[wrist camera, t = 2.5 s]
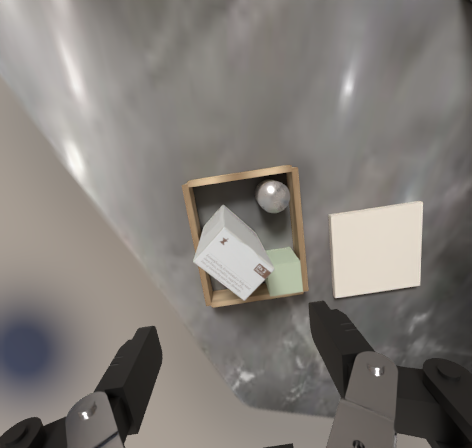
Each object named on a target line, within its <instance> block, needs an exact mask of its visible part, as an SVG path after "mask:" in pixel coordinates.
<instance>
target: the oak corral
mask: <svg viewBox="0 0 472 448" xmlns="http://www.w3.org/2000/svg"><path fill="white" fill-rule="evenodd" d="M279 173H286V176H287V186H288V190H289V192H290V201H289V207H290V217H291V227H292V237H293V247H294V253H295V255H296V256H297V257H298V259H299V260H300V264H301V275H302V285H303V292H304V291H309V290H308V279H307V267H306V256H305V244H304V233H303V221H302V210H301V198H300V186H299V175H298V167H292V166H291V165H285V166H278V167H272V168H265V169H259V170H252V171H246V172H240V173H233V174H227V175H220V176H214V177H207V178H201V179H194V180H190V181H187V184H184V185H182V189H183V194H184V199H185V204H186V209H187V214H188V219H189V224H190V228H191V233H192V238H193V243H194V248H195V253H196V250H197V247H198V244H199V241H200V237H201V234H202V233H201V228H200V223H199V218H198V212H197V207H196V202H195V197H194V192H193V187H195V186H202V185H208V184H215V183H221V182H228V181H234V180H241V179H247V178H253V177H260V176H266V175H273V174H279ZM198 268H199V273H200V278H201V283H202V287H203V292H204V297H205V302H206V306H211V305H212V308H213V307H220V306H227V305H233V304H240V303H247V302H253V301H260V300H267V299H273V298H280V297H287V296H293V295H300V294H303V292H298V293H291V294H285V295H278V296H271V297H270V294H269V291H268V288H267V285H266V283H264V284H260V285H259V286H258V287H257V289H256V290H255V291H254V292H253V293H252V294H251V295H250V296H249V297H248V298H247V299H246V300H245V301H244V300H243V299H241V298H240V297H239V296H237V295H236V294H235V293H233V292H232V291H231V290H229V289H224V290H217V291H213V290H212V285H211V280H210V275H209V274H208V273H207V272H206V271H204V270H203V269H202V268H200V267H199V266H198Z"/></svg>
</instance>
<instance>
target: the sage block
mask: <svg viewBox="0 0 472 448" xmlns="http://www.w3.org/2000/svg"><path fill="white" fill-rule="evenodd" d="M266 253H267V255H268V257H269V259H270V261H271V262H272V264H273V266H274V269H275V270H274V271H273V272H272V273H271V274H270V275H269V276H268V277H267V278H266V279H265V282H266V285H267V288H268V291H269V294H270V297H271V296H278V295H285V294H291V293H298V292H303V285H302V275H301V264H300V260H299V259H298V257H297V256H296V255H295V253H294V252H293V251H292V249H291V248H290V247H287V248H280V249H274V250H267V251H266Z"/></svg>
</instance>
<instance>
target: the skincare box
mask: <svg viewBox="0 0 472 448" xmlns="http://www.w3.org/2000/svg"><path fill="white" fill-rule="evenodd" d="M193 262H194V263H195V264H196V265H198V266H199V267H200V268H202V269H203V270H204V271H206V272H207V273H208V274H210V275H211V276H212V277H214V278H215V279H216V280H217V281H219V282H220V283H221V284H223V285H224V286H225V287H227V288H228V289H229V290H231V291H232V292H233V293H235V294H236V295H237V296H239V297H240V298H241V299H243V300H244V301H245V300H246V299H247V298H248V297H249V296H250V295H251V294H252V293H253V292H254V291H255V290H256V289H257V287H258V286H259V285H260V284H261V283H262V282H263V281H264V280H265V279H266V278H267V277H268V276H269V275H270V274H271V273H272V272H273V271H274V270H275V269H274V266H273V264H272V262H271V261H270V259H269V257H268V255H267V253H266V251H265V249H264V247H263V246H262V244H261V242H260V240H259V238H258V236H257V234H256V233H255V231H253V230H252V229H251V228H250V227H249V226H248V225H246V224H245V223H244V222H243V221H242V220H241V219H240V218H238V217H237V216H236V215H235V214H234V213H233V212H232V211H230V210H229V209H228V208H227V207H226V206H225V205H222V206H221V207H220V208H219V210H218V211H217V212H216V213H215V214H214V215H213V216H212V217H211V219H210V220H209V221H208V222H207V223H206V224H205V226H204V227H203V231H202V234H201V237H200V241H199V244H198V247H197V250H196V254H195V257H194V260H193Z"/></svg>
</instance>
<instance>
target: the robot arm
mask: <svg viewBox="0 0 472 448" xmlns="http://www.w3.org/2000/svg"><path fill="white" fill-rule="evenodd" d="M470 2H472V0H470ZM309 317H310V328H311V334H312V338H313V340H314V343H315V345H316V347H317V349H318V351H319V353H320V355H321V357H322V359H323V361H324V363H325V365H326V367H327V369H328V371H329V373H330V375H331V378H332V380H333V382H334V384H335V386H336V388H337V390H338V392H339V394H340V396H341V399H340V401H339V404H338V407H337V411H336V414H335V418H334V422H333V425H332V429H331V432H330V436H329V439H328V443H327V446H326V448H396V443H397V433H400V434H405V435H411V436H415V437H420V438H425V439H426V440H427V441H428V443H429V444H430V446H431V447H432V448H472V374H471V373H470V372H469V371H468V370H466V369H465V368H464V367H462V366H460V365H458V364H456V363H454V362H451V361H449V360H445V359H439V358H432V359H428V360H426V361H425V362H424V364H423V369H415V368H407V367H400V366H397V365H395V363H394V362H393V361H392V360H391V359H389V358H388V357H386V356H385V355H383V354H380V353H377V352H375V351H374V350H373V348H372V347H371V346H370V345H369V343H368V342H367V341H366V340H365V338H364V337H363V336H362V334H361V333H360V332H359V331H358V330H357V329H356V327H355V326H354V324H353V323H352V322H351V321H350V319H349V318H348V317H347V316H346V315H345V314H344V313H342V312H341V311H339V310H337V309H334V310H330V308H329V307H328V305H327V304H326V303H325V301H317V302H311V303H309ZM161 364H162V349H161V345H160V342H159V338H158V334H157V330H156V328H155V326H149V327H142V328H139V329H138V330H137V331H136V333H135V335H134V337H133V339H132V340H128V341H127V342H126V343H125V344H124V345H123V346H122V347H121V348H120V349H119V350H118V352H117V354H116V356H115V358H114V359H113V361H112V362H111V364H110V366H109V367H108V369H107V371H106V372H105V374H104V375H103V377H102V379H101V380H100V382H99V384H98V386H97V387H96V389H95V391H94V392H93V393H91V394H89V395H87V396H85V397H83V398H82V399H80V400H79V401H78V402H77V403H76V404H75V405H74V406H73V407H72V408H71V409H70V411H69V412H68V414H67V416H66V417H64V418H61V419H59V420H57V421H54V422H52V423H50V424H47V425H45V426H43V424H42V422H41V419H39V418H38V417H31V418H28V419H25V420H23V421H21V422H19V423H17V424H16V425H14V426H13V427H11V428H10V429H9V430H7V431H6V432H5V433H4V434H3V435H2V436H1V437H0V448H125V446H124V442H125V440H126V437H127V435H132V434H138V432H139V429H140V426H141V423H142V420H143V417H144V414H145V411H146V408H147V405H148V402H149V399H150V396H151V394H152V390H153V388H154V384H155V382H156V379H157V376H158V373H159V370H160V367H161ZM266 448H293V444H285V445H279V446H272V447H266Z"/></svg>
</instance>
